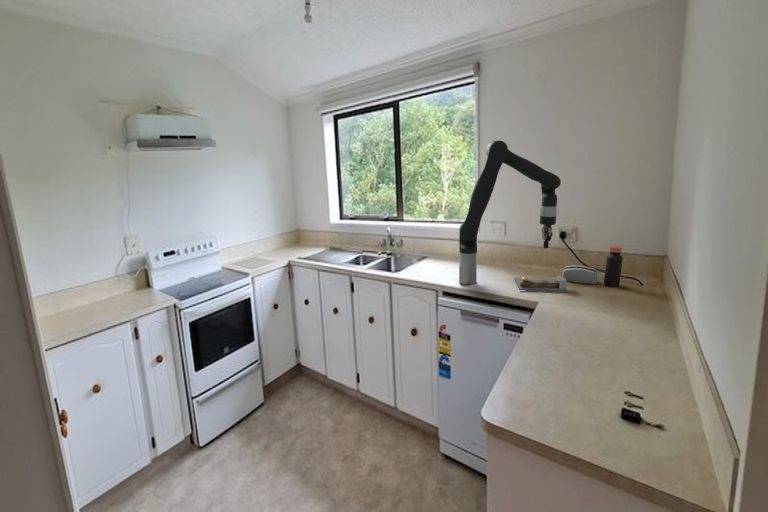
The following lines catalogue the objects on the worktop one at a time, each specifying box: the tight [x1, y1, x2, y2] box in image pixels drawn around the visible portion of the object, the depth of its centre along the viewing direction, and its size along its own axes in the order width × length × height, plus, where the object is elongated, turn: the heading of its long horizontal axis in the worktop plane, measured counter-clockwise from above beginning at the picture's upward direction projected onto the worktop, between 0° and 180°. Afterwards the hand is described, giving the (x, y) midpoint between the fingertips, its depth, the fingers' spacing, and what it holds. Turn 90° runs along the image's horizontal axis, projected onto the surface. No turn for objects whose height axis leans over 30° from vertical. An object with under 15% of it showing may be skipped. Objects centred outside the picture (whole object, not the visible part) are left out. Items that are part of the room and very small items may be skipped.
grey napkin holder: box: [561, 264, 598, 285], centre depth 192 cm, size 17×5×10 cm, turn 59°
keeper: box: [555, 275, 567, 290], centre depth 183 cm, size 3×7×5 cm, turn 169°
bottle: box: [603, 245, 624, 288], centre depth 183 cm, size 7×7×20 cm
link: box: [520, 280, 559, 287], centre depth 185 cm, size 21×4×2 cm, turn 80°
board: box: [513, 276, 568, 293], centre depth 190 cm, size 22×18×1 cm
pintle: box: [521, 276, 529, 282], centre depth 186 cm, size 3×3×1 cm
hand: (545, 247), depth 191 cm, fingers closed
